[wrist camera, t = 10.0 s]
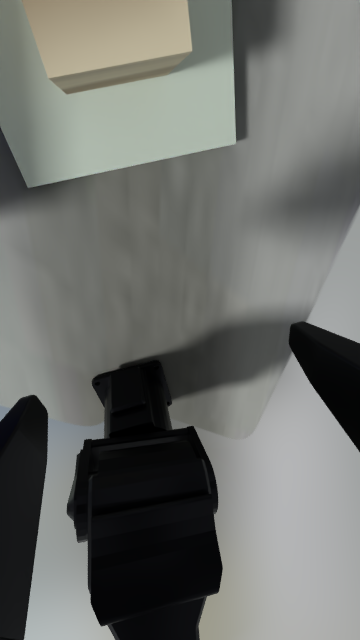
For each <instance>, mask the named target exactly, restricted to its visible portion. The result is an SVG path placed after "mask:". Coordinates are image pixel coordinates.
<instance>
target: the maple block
mask: <svg viewBox="0 0 360 640" xmlns="http://www.w3.org/2000/svg"><path fill="white" fill-rule="evenodd" d="M22 3H23V6H24V9H25V12H26V15H27V18H28V21H29V24H30V26H31V29H32V32H33V35H34V38H35V41H36V44H37V47H38V50H39V53H40V56H41V58H42V61H43V64H44V67H45V70H46V73H47V76H48V79H50V80H51V81H52V82H53V83H54V84H55V85H56V86H58V87H59V88H60V89H61V90H62V91H63V92H64V93H66V94H72V93H77V92H82V91H88V90H93V89H98V88H103V87H108V86H113V85H118V84H124V83H129V82H134V81H139V80H144V79H149V78H154V77H160V76H165V75H168V74H169V73H170V72H171V71H172V70H173V69H174V68H175V67H176V66H177V65H178V64H179V63H180V62H181V61H183V60H184V59H185V58H186V57H187V56H188V55H189V54H190V53H191V52H192V42H191V32H190V22H189V11H188V1H187V0H22Z"/></svg>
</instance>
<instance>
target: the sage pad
mask: <svg viewBox="0 0 360 640" xmlns="http://www.w3.org/2000/svg"><path fill="white" fill-rule="evenodd" d="M187 1H188V11H189V22H190V32H191V42H192V52H191V53H190V54H189V55H188V56H187V57H186V58H185V59H184V60H183V61H181V62H180V63H179V64H178V65H177V66H176V67H175V68H174V69H173V70H172V71H171V72H170V73H169V74H168V75H165V76H160V77H154V78H149V79H144V80H139V81H134V82H129V83H124V84H118V85H113V86H108V87H103V88H98V89H93V90H88V91H82V92H77V93H72V94H66V93H64V92H63V91H62V90H61V89H60V88H59V87H58V86H56V85H55V84H54V83H53V82H52V81H51V80H50V79H48V76H47V73H46V70H45V67H44V64H43V61H42V58H41V56H40V53H39V50H38V47H37V44H36V41H35V38H34V35H33V32H32V29H31V26H30V24H29V21H28V18H27V15H26V12H25V9H24V6H23V3H22V0H0V128H1V130H2V132H3V134H4V136H5V138H6V141H7V143H8V145H9V147H10V149H11V152H12V154H13V156H14V158H15V160H16V163H17V165H18V167H19V169H20V171H21V173H22V176H23V178H24V180H25V182H26V184H27V187H28V188H31V187H35V186H40V185H45V184H50V183H54V182H59V181H64V180H68V179H73V178H78V177H82V176H87V175H92V174H96V173H101V172H106V171H111V170H115V169H120V168H125V167H129V166H134V165H139V164H143V163H148V162H153V161H157V160H162V159H167V158H172V157H176V156H181V155H186V154H190V153H195V152H200V151H204V150H209V149H214V148H218V147H223V146H228V145H233V144H236V127H235V94H234V61H233V28H232V0H187Z"/></svg>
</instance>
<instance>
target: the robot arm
mask: <svg viewBox="0 0 360 640" xmlns="http://www.w3.org/2000/svg"><path fill="white" fill-rule="evenodd" d="M289 345H290V348H291V350H292V351H293V353H294V355H295V357H296V358H297V360H298V362H299V364H300V366H301V367H302V369H303V371H304V373H305V375H306V376H307V378H308V380H309V381H310V383H311V384H312V386H313V387H314V389H315V390H316V392H317V393H318V394H319V396H320V397H321V399H322V400H323V401H324V403H325V404H326V406H327V407H328V408H329V410H330V411H331V412H332V414H333V415H334V417H335V418H336V419H337V421H338V422H339V424H340V425H341V426H342V428H343V429H344V431H345V432H346V433H347V435H348V436H349V438H350V439H351V440H352V442H353V443H354V445H355V446H356V447H357V449H358V450H359V452H360V343H357V342H355V341H352V340H350V339H347V338H345V337H342V336H339V335H337V334H334V333H332V332H329V331H327V330H324V329H322V328H319V327H317V326H314V325H311V324H309V323H306V322H303V321H301V322H297V323H293V324H292V325H291V327H290V334H289ZM154 366H156V367H154ZM92 386H93V388H94V389H95V391H96V393H97V395H98V397H99V399H100V400H101V402H102V404H103V406H104V408H105V417H104V424H105V425H104V439H96V440H92V439H86V440H84V446H83V450H81V451H80V453H79V454H78V455H77V460H76V470H75V477H74V481H73V485H72V489H71V493H70V496H69V500H68V503H67V515H68V516H69V517H70V518H71V519H72V520H73V521H74V527H75V529H76V535H77V542H78V543H80V542H85V541H88V589H89V592H90V594H91V605H92V608H93V610H94V612H95V615H96V617H97V619H98V622H99V624H100V625H101V626H105V625H108V627H109V629H110V630H111V632H112V634H113V636H114V638H115V640H200V639H199V628H198V625H199V622H200V618H201V615H202V611H203V608H204V604H205V601H206V597H207V596H210V595H213V594H217V593H218V592H219V588H220V582H221V576H222V569H223V568H222V561H221V556H220V552H219V546H218V541H217V535H216V530H215V522H214V514H215V513H216V512H217V509H218V491H217V484H216V479H215V475H214V471H213V468H212V465H211V462H210V460H209V458H208V456H207V454H206V452H205V449H204V447H203V445H202V443H201V441H200V439H199V437H198V435H197V432H196V430H195V428H194V426H189V427H187V428H182V429H174V430H172V426H171V421H170V416H169V411H168V406H170V405H171V404H172V400H171V397H170V393H169V390H168V386H167V383H166V379H165V376H164V372H163V369H162V366H161V363H160V362H159V361H152V362H149V363H145V364H141V365H138V366H134V367H131V368H127V369H123V370H120V371H116V372H112V373H109V374H105V375H101V376H98V377H95V378H93V380H92ZM47 435H48V413H47V410H46V408H45V407H44V405H43V404H42V403H41V401H40V400H39V399H38V397H37V396H35V395H29V396H26V397H22V398H21V399H19V400H18V402H17V403H16V404H15V405H14V406H13V407H12V409H11V410H10V411H9V412H8V413H7V414H6V416H5V417H4V418H3V419H2V420H1V421H0V640H24V635H25V627H26V620H27V612H28V604H29V596H30V588H31V581H32V573H33V565H34V558H35V550H36V542H37V535H38V527H39V519H40V510H41V504H42V496H43V489H44V481H45V473H46V465H47V442H48V436H47Z"/></svg>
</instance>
